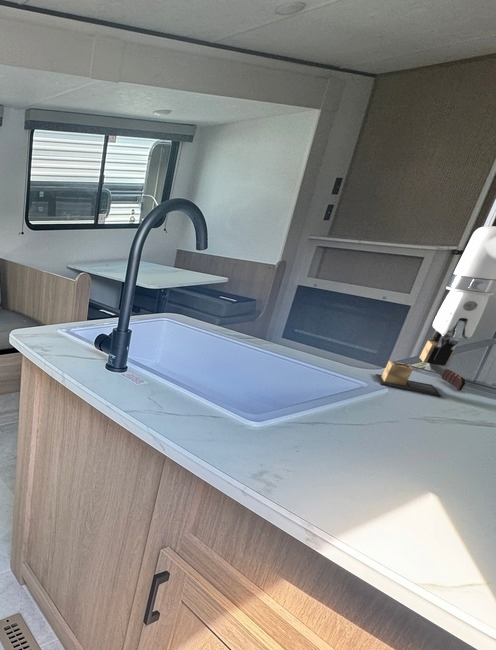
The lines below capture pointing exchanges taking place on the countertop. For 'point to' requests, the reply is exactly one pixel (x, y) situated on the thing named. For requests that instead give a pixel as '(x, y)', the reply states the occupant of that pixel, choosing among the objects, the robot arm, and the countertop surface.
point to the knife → (449, 376)
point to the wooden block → (397, 372)
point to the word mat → (411, 386)
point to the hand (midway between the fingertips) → (432, 360)
